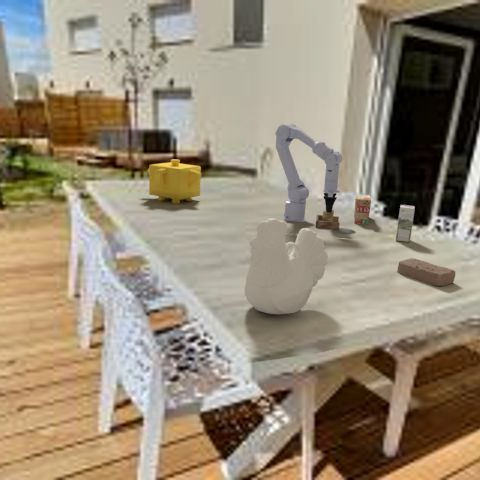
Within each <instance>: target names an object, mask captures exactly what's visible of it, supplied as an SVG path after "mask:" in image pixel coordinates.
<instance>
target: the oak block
mask: <svg viewBox="0 0 480 480" xmlns="http://www.w3.org/2000/svg"><path fill="white" fill-rule="evenodd" d="M322 211H323V212H322V215H323V219H322V221H330V222H333V216H334V212H335V211H334V209H332V212H331V213H330V212H326V208H325V209H323V210H322Z"/></svg>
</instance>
